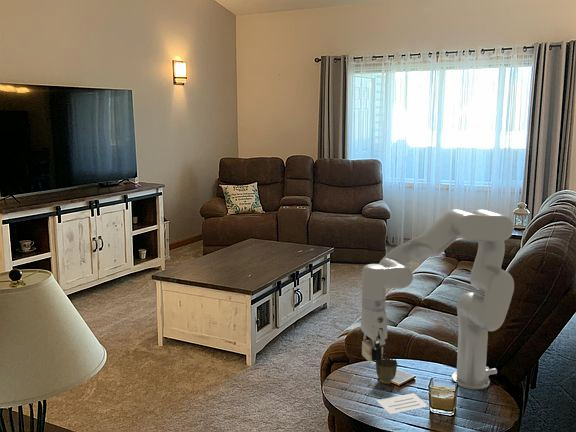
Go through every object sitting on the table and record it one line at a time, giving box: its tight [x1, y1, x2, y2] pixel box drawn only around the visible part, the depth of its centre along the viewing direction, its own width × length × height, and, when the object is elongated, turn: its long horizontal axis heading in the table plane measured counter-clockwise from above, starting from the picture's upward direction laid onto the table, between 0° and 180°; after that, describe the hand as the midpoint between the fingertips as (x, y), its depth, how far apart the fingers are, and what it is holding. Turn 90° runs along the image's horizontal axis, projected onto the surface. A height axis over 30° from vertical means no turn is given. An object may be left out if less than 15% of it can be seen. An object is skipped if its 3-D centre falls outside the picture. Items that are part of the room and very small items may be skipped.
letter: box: [376, 392, 429, 415], centre depth 185 cm, size 14×9×1 cm, turn 109°
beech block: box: [361, 340, 384, 362], centre depth 187 cm, size 5×5×5 cm
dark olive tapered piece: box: [375, 356, 398, 386], centre depth 199 cm, size 8×7×8 cm
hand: (372, 355), depth 187 cm, fingers closed on beech block, 5 cm apart
